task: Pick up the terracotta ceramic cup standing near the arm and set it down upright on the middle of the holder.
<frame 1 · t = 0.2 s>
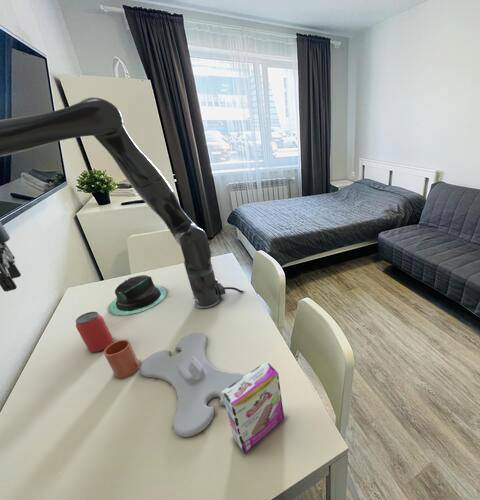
hand: (13, 283, 71), 29 cm above the table, tool pointing down, fingers open, 8 cm apart
holder: (193, 378, 78), on the table
candy bar box: (261, 429, 64), on the table
beer can: (102, 345, 90), on the table
black and green hat: (139, 300, 113), on the table
cup: (127, 369, 81), on the table
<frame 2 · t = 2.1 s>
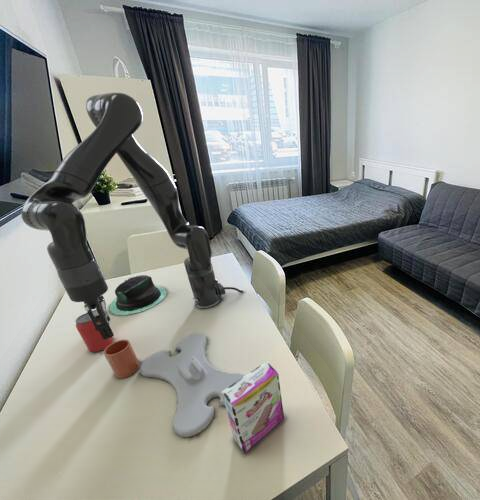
hand: (107, 329, 74), 16 cm above the table, tool pointing down, fingers open, 8 cm apart
nothing on the table moved.
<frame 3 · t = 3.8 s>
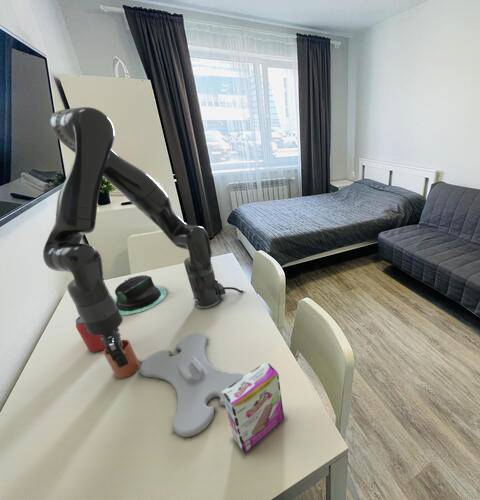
hand: (122, 358, 79), 5 cm above the table, tool pointing down, fingers closed on cup, 6 cm apart
cup: (127, 369, 81), on the table, touching gripper
everything else where it was.
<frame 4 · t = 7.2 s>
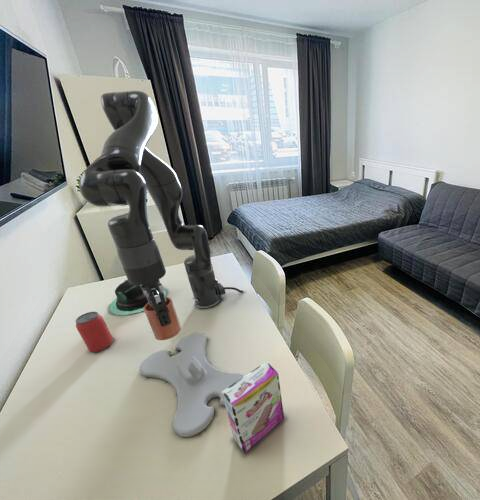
hand: (163, 317, 69), 22 cm above the table, tool pointing down, fingers closed on cup, 6 cm apart
cup: (168, 332, 71), point 17 cm above the table, touching gripper
everything else where it was.
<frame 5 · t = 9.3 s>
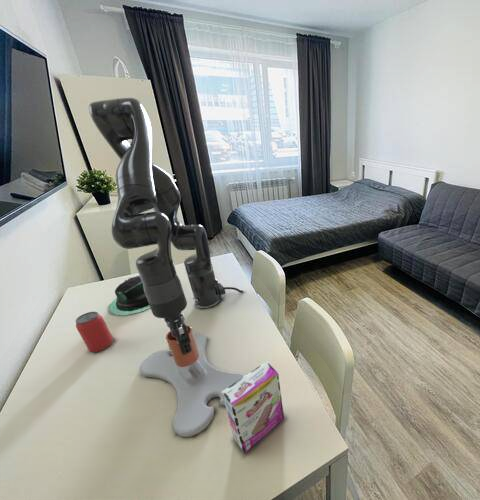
hand: (183, 345, 72), 12 cm above the table, tool pointing down, fingers closed on cup, 6 cm apart
cup: (187, 358, 74), point 8 cm above the table, touching gripper
everything else where it was.
when the fingers open (10 cm above the table, at t = 10.7 s): cup stays where it is, resting on holder.
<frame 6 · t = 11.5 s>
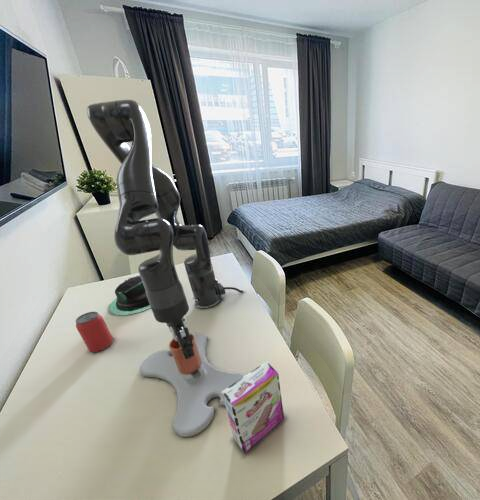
hand: (185, 347, 73), 12 cm above the table, tool pointing down, fingers open, 8 cm apart
holder: (193, 378, 78), on the table, touching cup
cup: (190, 365, 75), point 5 cm above the table, touching holder
everything else where it was.
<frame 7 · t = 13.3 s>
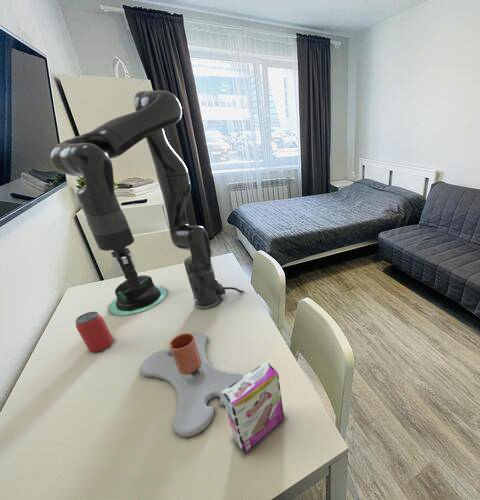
hand: (133, 282, 75), 27 cm above the table, tool pointing down, fingers open, 8 cm apart
nothing on the table moved.
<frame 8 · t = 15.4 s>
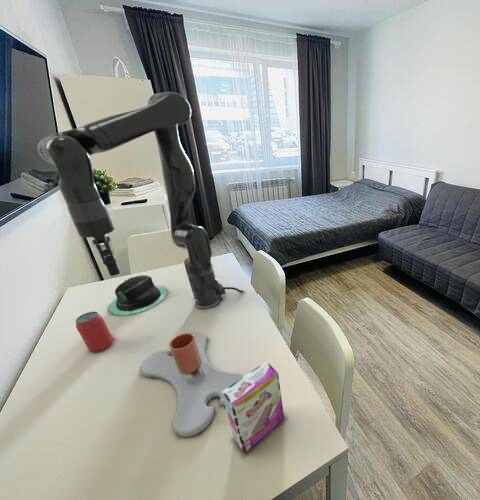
hand: (113, 269, 79), 28 cm above the table, tool pointing down, fingers open, 8 cm apart
nothing on the table moved.
at the end: cup inside the target area on the holder (0.4 cm from its centre), point 5.2 cm above the holder's base; cup tilted 0°; the gripper is holding nothing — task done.
